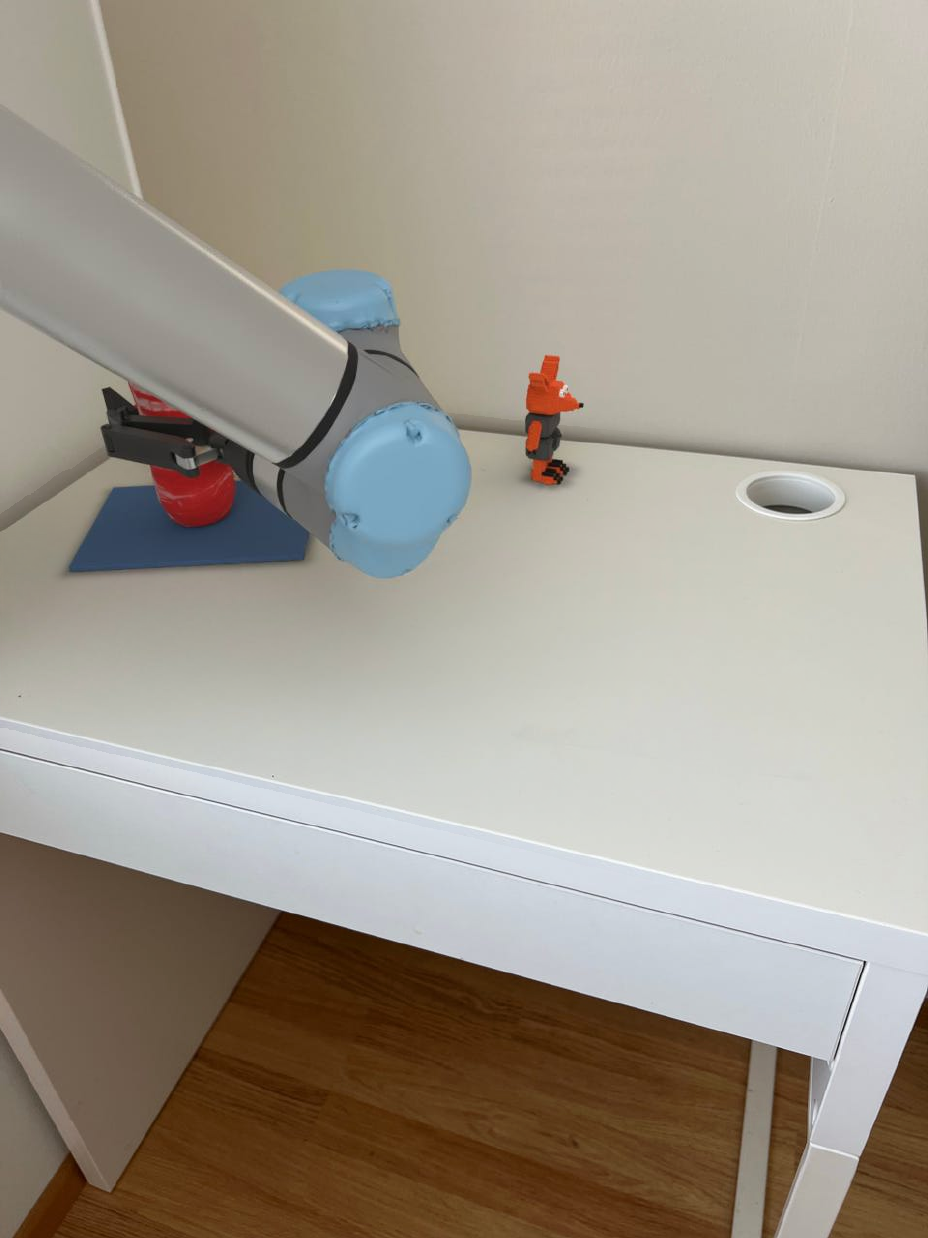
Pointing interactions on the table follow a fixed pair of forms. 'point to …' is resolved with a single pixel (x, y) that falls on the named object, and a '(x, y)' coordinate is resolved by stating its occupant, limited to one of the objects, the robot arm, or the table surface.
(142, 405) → the water bottle
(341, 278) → the robot arm
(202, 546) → the blue mat
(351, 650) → the table surface
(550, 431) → the toy animal
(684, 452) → the table surface
